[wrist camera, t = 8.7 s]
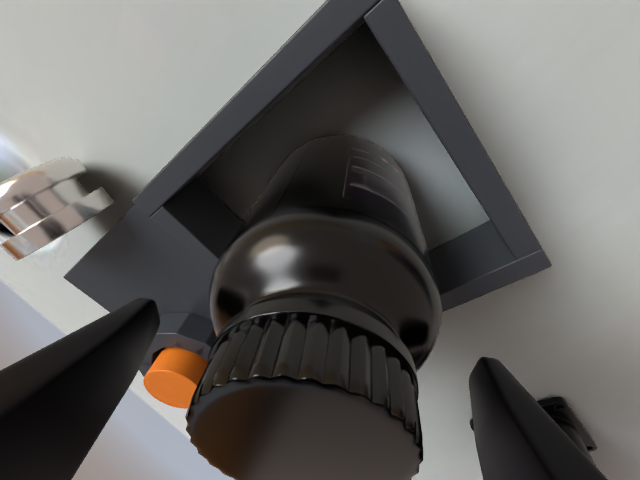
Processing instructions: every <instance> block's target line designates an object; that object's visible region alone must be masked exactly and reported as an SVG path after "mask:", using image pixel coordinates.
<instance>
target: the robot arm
mask: <svg viewBox="0 0 640 480" xmlns="http://www.w3.org/2000/svg"><path fill="white" fill-rule="evenodd" d="M159 326H160V317H159V312H158V308H157V304H156V302H155V301H154V300H153V299H147V298H138V299H136V300H134V301H132V302H130V303H128V304H126V305H124V306H122V307H120V308H119V309H117V310H115V311H113V312H111V313H109V314H107V315H105V316H103V317H101V318H100V319H98V320H96V321H94V322H92V323H90V324H88V325H86V326H84V327H82V328H81V329H79V330H77V331H75V332H73V333H71V334H69V335H67V336H65V337H64V338H62V339H60V340H58V341H56V342H54V343H52V344H50V345H48V346H46V347H45V348H42V349H41V350H39V351H37V352H35V353H33V354H31V355H29V356H27V357H25V358H23V359H22V360H20V361H18V362H16V363H14V364H12V365H10V366H8V367H6V368H4V369H3V370H1V371H0V480H71V479H72V478H73V476H74V475H75V473H76V471H77V470H78V468H79V466H80V465H81V463H82V462H83V460H84V458H85V457H86V455H87V454H88V452H89V450H90V449H91V447H92V445H93V444H94V442H95V441H96V439H97V437H98V436H99V434H100V433H101V431H102V429H103V428H104V426H105V424H106V423H107V421H108V420H109V418H110V417H111V415H112V413H113V412H114V410H115V409H116V407H117V405H118V404H119V402H120V400H121V399H122V397H123V396H124V394H125V392H126V391H127V389H128V388H129V386H130V384H131V383H132V381H133V379H134V377H135V376H136V374H137V372H138V370H139V368H140V366H141V364H142V362H143V360H144V358H145V356H146V354H147V351H148V349H149V347H150V345H151V343H152V341H153V339H154V337H155V335H156V333H157V331H158V329H159ZM469 389H470V398H471V407H472V416H473V419H471V420H470V425H471V428H472V430H473V431H474V434H475V441H476V447H477V452H478V457H479V461H480V466H481V471H482V475H483V480H607V479H606V477H605V476H604V475H603V474H602V473H601V472H600V471H599V470H598V469H597V467H596V465H595V464H594V462H593V460H592V458H591V456H590V454H589V452H590V451H594V450H596V449H597V446H596V444H595V443H594V441H593V439H592V438H591V436H590V435H589V434H588V432H587V431H586V429H585V428H584V427H583V425H582V424H581V422H580V421H579V419H578V418H577V417H576V415H575V414H574V412H573V411H572V410H571V408H570V407H569V405H568V404H567V402H566V401H565V400H564V399H563V398H561V397H554V398H550V399H546V400H542V401H538V402H536V401H535V399H534V398H533V397H532V396H531V395H530V394H529V393H528V392H527V391H526V390H525V388H524V387H523V386H522V385H521V384H520V383H519V382H518V381H517V380H516V379H515V377H514V376H513V375H512V374H511V373H510V372H509V371H508V370H507V369H506V368H505V366H504V365H503V364H502V363H501V362H500V361H499V360H497V359H493V358H488V357H481V358H480V359H479V360H478V362H477V364H476V365H475V367H474V369H473V371H472V373H471V375H470V378H469Z"/></svg>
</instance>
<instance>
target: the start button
mask: <svg viewBox="0 0 640 480" xmlns="http://www.w3.org/2000/svg"><path fill="white" fill-rule="evenodd" d="M206 367H207V361H206V360H205V359H204V358H202V357H201V356H200V355H199V354H196V353H193V352H190V351H187V350H184V349H182V348H166V349H164V350H162V351H161V353H160V354H159V356H158V357H157V359H156V360H155V362H154V363H153V365H152V366H151V367H150V369H149V370H148V372H147V373H146V375H145V377H144V386H145V388H146V390H147V391H148V392H149V393H150V394H151V395H152V396H153V397H154V398H156V399H157V400H159V401H161V402H163V403H165V404H167V405H170V406H173V407H177V408H188V407H189V405H190V403H191V399H192V396H193V394H194V391H195V389H196V387H197V385H198V383H199V381H200V379H201V377H202V375H203V373H204V371H205V369H206Z"/></svg>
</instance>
